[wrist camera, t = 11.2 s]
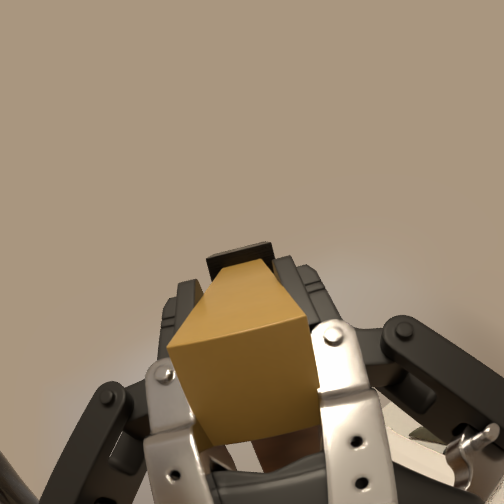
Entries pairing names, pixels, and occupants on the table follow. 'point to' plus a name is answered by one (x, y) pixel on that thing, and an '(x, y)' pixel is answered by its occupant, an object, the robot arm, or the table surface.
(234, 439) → the mustard yellow prism
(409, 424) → the table surface
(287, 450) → the walnut stand
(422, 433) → the stone
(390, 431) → the model shed
